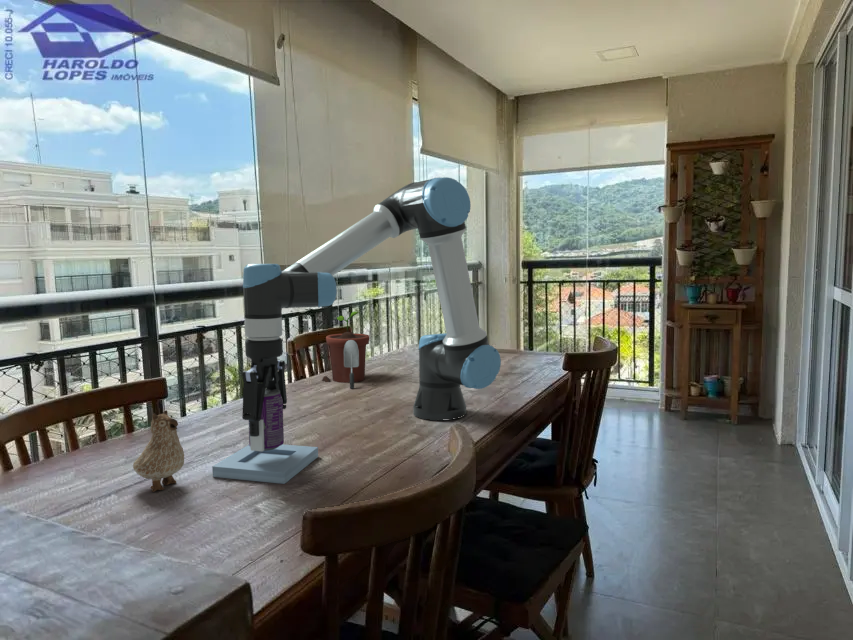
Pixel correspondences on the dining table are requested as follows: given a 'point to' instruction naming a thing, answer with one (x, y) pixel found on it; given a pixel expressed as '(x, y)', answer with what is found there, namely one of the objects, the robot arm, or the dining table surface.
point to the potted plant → (347, 355)
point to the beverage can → (272, 420)
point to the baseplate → (266, 463)
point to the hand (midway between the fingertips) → (266, 444)
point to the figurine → (161, 453)
